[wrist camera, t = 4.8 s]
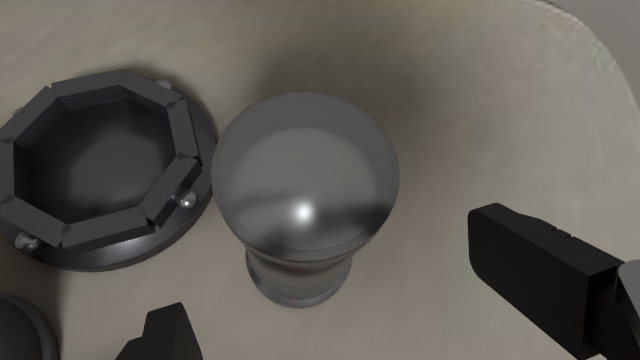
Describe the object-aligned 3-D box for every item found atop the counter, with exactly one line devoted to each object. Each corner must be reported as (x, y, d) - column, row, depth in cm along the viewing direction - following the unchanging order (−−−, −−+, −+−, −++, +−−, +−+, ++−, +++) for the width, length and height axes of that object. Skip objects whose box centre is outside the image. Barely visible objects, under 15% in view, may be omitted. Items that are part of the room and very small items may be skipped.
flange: (0, 304, 17) (-37, 296, 15) (0, 110, 22) (-30, 85, 20) (240, 233, 20) (234, 219, 18) (197, 70, 24) (188, 43, 22)
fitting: (263, 324, 18) (235, 286, 9) (236, 224, 20) (192, 109, 11) (364, 289, 19) (432, 222, 10) (329, 197, 21) (360, 71, 12)
